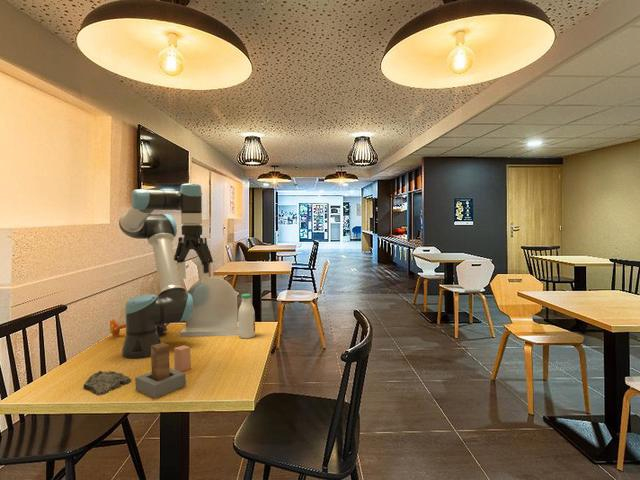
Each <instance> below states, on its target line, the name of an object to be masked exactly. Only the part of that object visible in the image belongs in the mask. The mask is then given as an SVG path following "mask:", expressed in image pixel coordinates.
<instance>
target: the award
mask: <svg viewBox="0 0 640 480" xmlns="http://www.w3.org/2000/svg"><path fill="white" fill-rule="evenodd" d="M235 290H236V289H235V288H234V287H233V286H232V285H231V283H230V282H228V281H227V280H225V279H223V278H221V277H219V276H208V282H201V278H200V279H199V280H197V281H196V282H194V283H193V284H192V285H191V286H190V287H189V289H188V290H187V293H189V294H191V295H192V298H193V311H192V315H191V317H190V318H189V319H188V320H185V327H184V328H183V329H182V330H181V331H179V337H180V338H185V337H186V338H187V337H189V338H190V337H227V336H229V337H230V336H233V337H234V335H235V336H239V331H238V296H237V293H236V291H235Z"/></svg>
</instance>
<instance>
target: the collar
mask: <svg viewBox="0 0 640 480" xmlns="http://www.w3.org/2000/svg"><path fill="white" fill-rule="evenodd" d="M186 378H187V377H186V373H184V372H180V371H177V370H175V369H173V368H170V377H167V378H165V379H162V380H159V381H155V380H153V379H152V371H150V372H147V373H144V374H141V375H139V376H136V377H134V381H135V383H134V384H135V385H134V386H135V390H136V391H138V392H140V393H142V394H144V395H146V396H149V397H152V398H154V399H158V398H159V397H162V396H163V395H166V394H167V395H168V393H171V392H174V391H176V390H178V389H181V388H183V387H186V386H187V380H186Z"/></svg>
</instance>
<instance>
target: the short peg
mask: <svg viewBox="0 0 640 480" xmlns="http://www.w3.org/2000/svg"><path fill="white" fill-rule="evenodd" d="M173 351H174V354H173V356H174V370H176V371H179V372H182V373H184V372H185V371H188V370H190V369H191V368H192V365H191V364H192V363H191V362H192V361H191V355H192V354H191V347H190V346H187V345H180V346H177V347H174V348H173Z"/></svg>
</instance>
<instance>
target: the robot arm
mask: <svg viewBox="0 0 640 480" xmlns="http://www.w3.org/2000/svg"><path fill="white" fill-rule="evenodd" d="M202 195H203V193H202V186H201V184H199V183H182V184H181V185H180V188H179V190H167V189H166V190H161V189H144V188H140V189H133V190H132V192H131V196H130V203H131V206H130V208H128V211H127V212H124V213H123V214H122V215H121V217H120V218H119V221H118V227H119V228H120V230H121V232H122V233H123V234H125V235H126V236H128V237H129V238H132V239H137V240H141V239H142V240H144V239H145V240H147V242H148V244H149V245H150V246H152V250H153V256H154V261H155V266H156V272H157V276H158V281H159V282H158V283H159V287H160V288H159V289H160V291H159V292H158V294H157V295H156V294H154V293H151V294H142V295H138V296H134V297H131V298H130V299H128V300H127V301H126V303H125V309H124V313H125V324H126V328H125V329H126V330H125V332H126V335H125V340H124V343H123V345H122V349H121V355H122V357H124V358H127V359H141V358H148V357H151V346H152V345H156V344H160V343H162V341H161V339H160V335H159V336H158V333H157V325H161V324H164V325H166V324H168V323H170V324H173V323H174V324H175V323H181V322H183V321H184V322H186V320H188V319H189V318H190V317H191V315H192V311H193V298H192V295H191V294H189V293H188V292H187V290H186V288H185V287H183V286H182V285H181V280H185V279H187V277H186V276H187V274H186V271H187V270H186V268H187V267H186V259H187V256H188V254H189V252H190V251H191V250H193V251H194V252H195V253H196V254H197V256H198V258H199V260H200V262H201V263H200V279H201V282H208V277H209V273H210V266H209V265H210V264H213V263H214V260H213V257H212V253H211V251H210V248H209V245H208V241H207V240H208V239H207V237H201V236H202V235H203V226H202V224H203V215H202V214H203V210H202V209H203V207H202V206H203V204H202V203H203V199H202ZM155 210H157V211H158V210H159V211H161V210H162V211H164V210H165V211H168V210H169V211H180V223H181V225H182V226H181V227H180V228H181V235H182V237H181V236H180V237H178V240H177V241H178V242H177V246H176V250H175V252H174V247H173V246H174V245H173V242H174V240H175V238H176V237H177V234H178V230H177V223H176V221H175V218H174V217H173V216H172V215H171V214H167V213H153V211H155Z"/></svg>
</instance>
